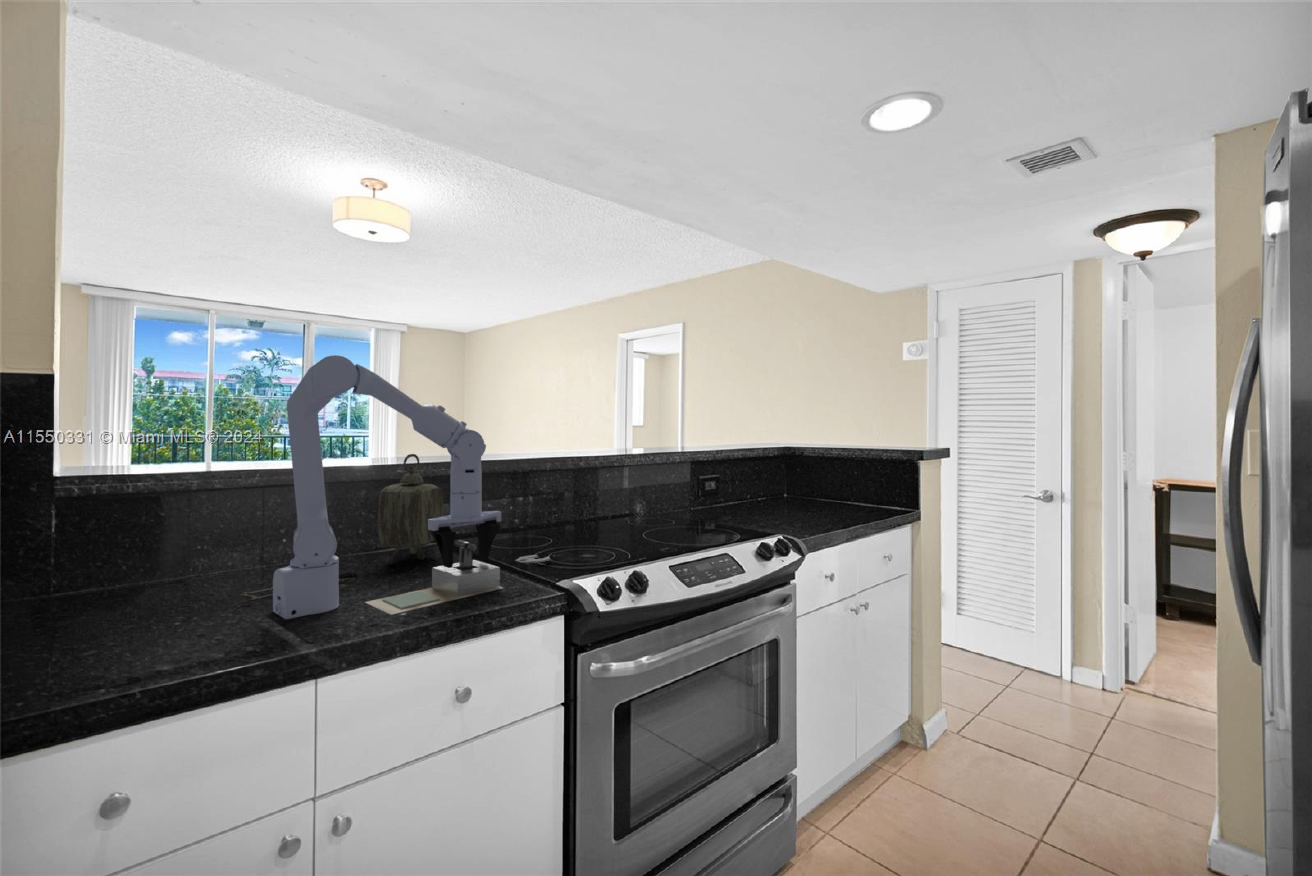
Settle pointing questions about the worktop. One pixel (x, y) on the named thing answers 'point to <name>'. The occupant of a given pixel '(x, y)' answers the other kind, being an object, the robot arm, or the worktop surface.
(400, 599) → the mat
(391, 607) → the board
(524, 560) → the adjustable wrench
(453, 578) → the block
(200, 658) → the worktop surface
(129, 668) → the worktop surface
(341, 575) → the hacksaw
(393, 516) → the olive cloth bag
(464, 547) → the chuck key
